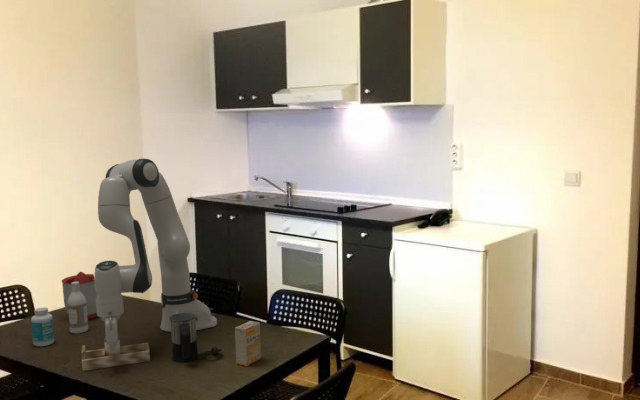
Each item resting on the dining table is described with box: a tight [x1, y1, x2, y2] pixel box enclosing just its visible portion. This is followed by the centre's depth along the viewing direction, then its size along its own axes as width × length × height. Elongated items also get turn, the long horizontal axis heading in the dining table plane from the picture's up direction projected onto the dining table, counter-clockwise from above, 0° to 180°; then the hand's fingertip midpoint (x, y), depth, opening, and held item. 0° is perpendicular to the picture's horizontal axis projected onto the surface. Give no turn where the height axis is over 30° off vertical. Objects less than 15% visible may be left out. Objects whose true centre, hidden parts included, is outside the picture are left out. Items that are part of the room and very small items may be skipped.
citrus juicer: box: [61, 271, 98, 320], centre depth 265 cm, size 16×17×20 cm
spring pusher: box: [101, 347, 105, 357], centre depth 214 cm, size 1×6×3 cm, turn 19°
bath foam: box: [67, 282, 89, 334], centre depth 247 cm, size 7×7×20 cm
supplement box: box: [234, 320, 262, 367], centre depth 211 cm, size 8×5×13 cm, turn 148°
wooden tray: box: [80, 342, 151, 372], centre depth 215 cm, size 22×9×6 cm, turn 108°
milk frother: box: [169, 313, 222, 362], centre depth 217 cm, size 14×16×15 cm
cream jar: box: [103, 334, 121, 357], centre depth 214 cm, size 5×5×7 cm
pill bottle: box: [30, 307, 55, 347], centre depth 234 cm, size 8×7×14 cm
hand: (113, 347), depth 215 cm, fingers closed on cream jar, 5 cm apart
